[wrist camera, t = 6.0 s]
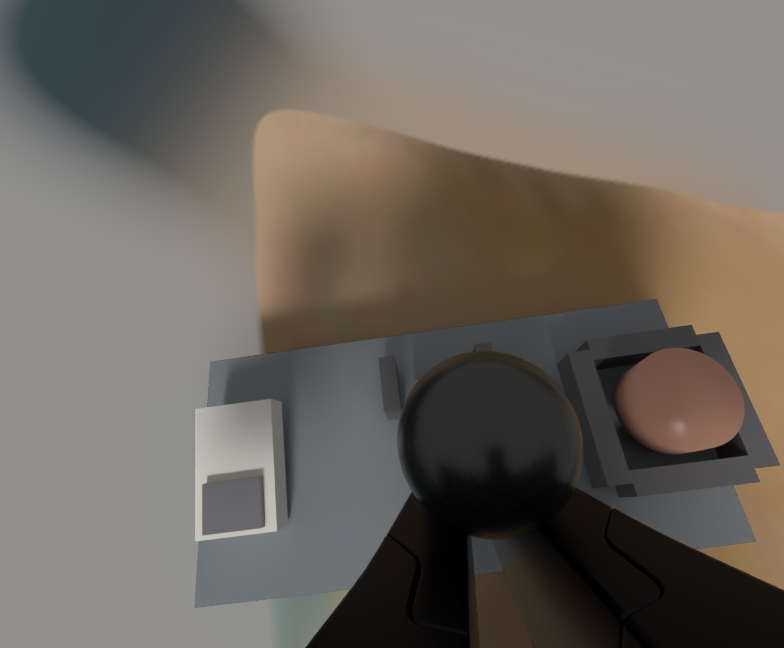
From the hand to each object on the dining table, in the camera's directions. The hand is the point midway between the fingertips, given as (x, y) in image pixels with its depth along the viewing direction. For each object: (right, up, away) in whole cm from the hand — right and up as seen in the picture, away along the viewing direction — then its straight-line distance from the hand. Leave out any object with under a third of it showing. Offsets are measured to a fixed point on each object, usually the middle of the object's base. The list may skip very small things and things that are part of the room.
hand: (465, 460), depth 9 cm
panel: (+1, -3, +10) cm, 10 cm away
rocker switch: (-7, -2, +7) cm, 10 cm away
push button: (+8, 0, +5) cm, 9 cm away
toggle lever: (0, 0, +8) cm, 8 cm away
